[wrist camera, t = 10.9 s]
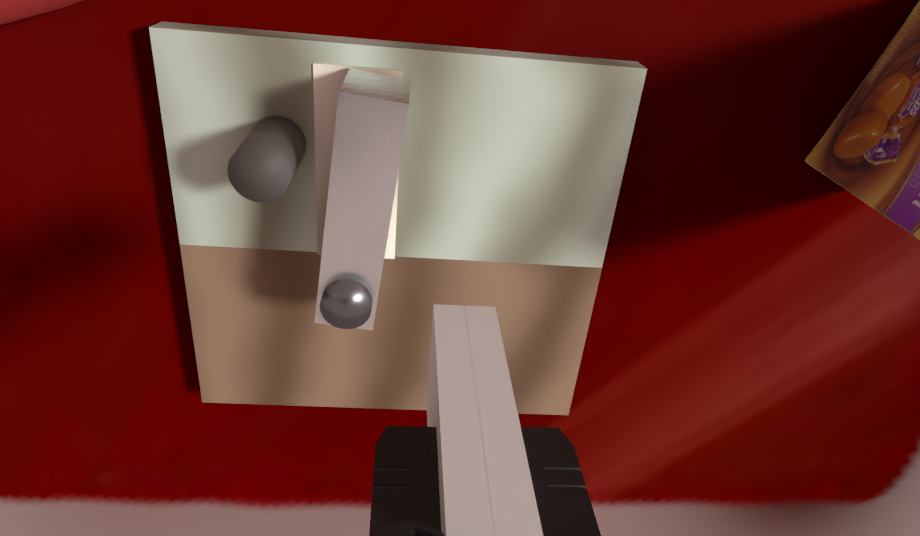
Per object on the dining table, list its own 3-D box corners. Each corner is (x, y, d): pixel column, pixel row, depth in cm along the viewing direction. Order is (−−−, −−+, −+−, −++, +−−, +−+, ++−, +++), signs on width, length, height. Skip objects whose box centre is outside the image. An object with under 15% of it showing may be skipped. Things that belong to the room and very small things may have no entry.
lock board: (210, 385, 37) (178, 455, 32) (162, 21, 27) (105, 45, 22) (563, 398, 39) (583, 466, 34) (637, 61, 29) (679, 91, 24)
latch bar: (378, 282, 32) (371, 338, 28) (327, 275, 32) (312, 330, 28) (411, 78, 27) (408, 108, 23) (350, 66, 27) (336, 95, 23)
